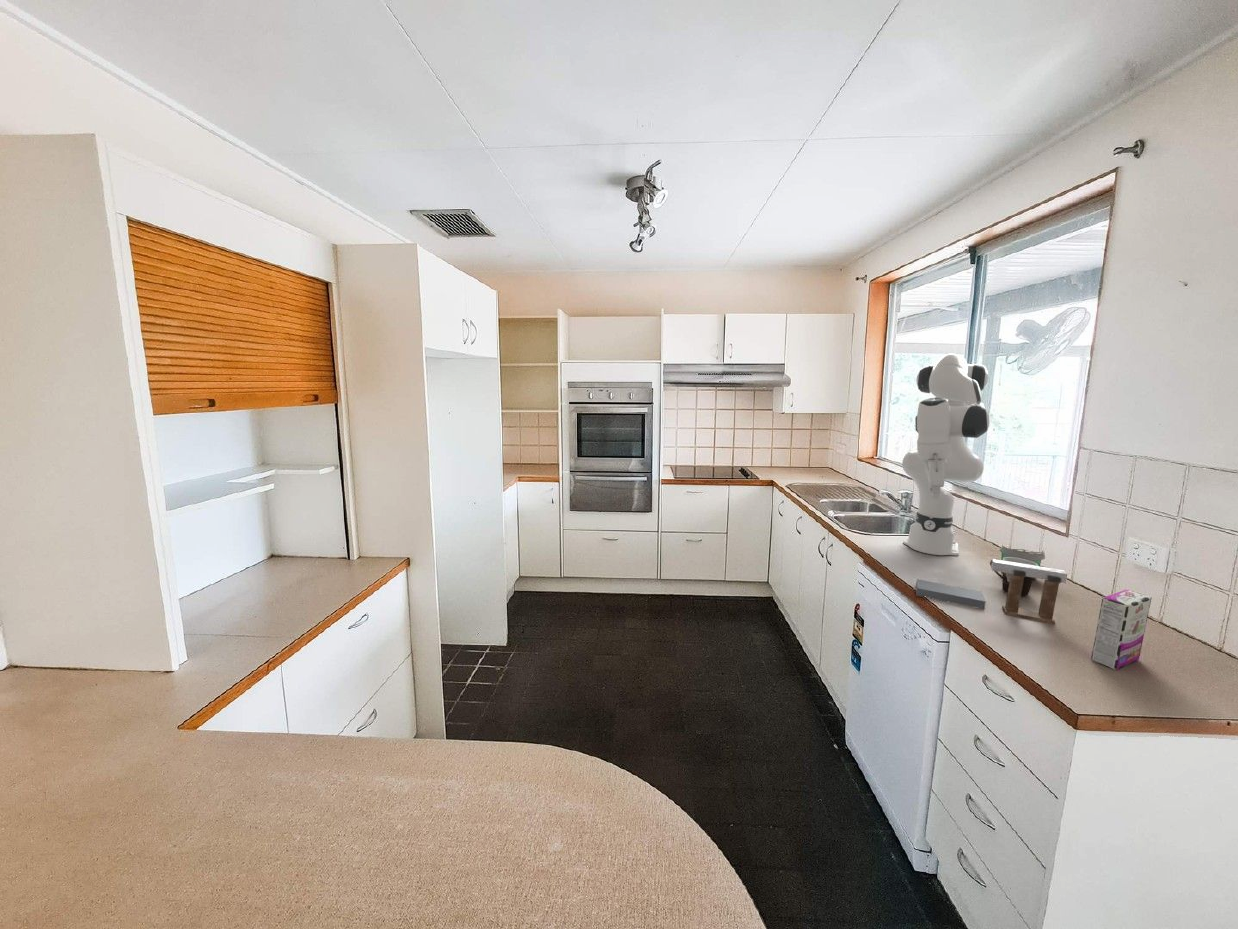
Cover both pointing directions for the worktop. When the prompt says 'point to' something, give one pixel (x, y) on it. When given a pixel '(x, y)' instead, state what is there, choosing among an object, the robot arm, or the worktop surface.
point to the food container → (1023, 555)
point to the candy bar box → (1120, 629)
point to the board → (950, 593)
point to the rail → (1028, 570)
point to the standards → (1045, 604)
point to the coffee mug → (1006, 576)
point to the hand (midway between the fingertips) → (934, 495)
